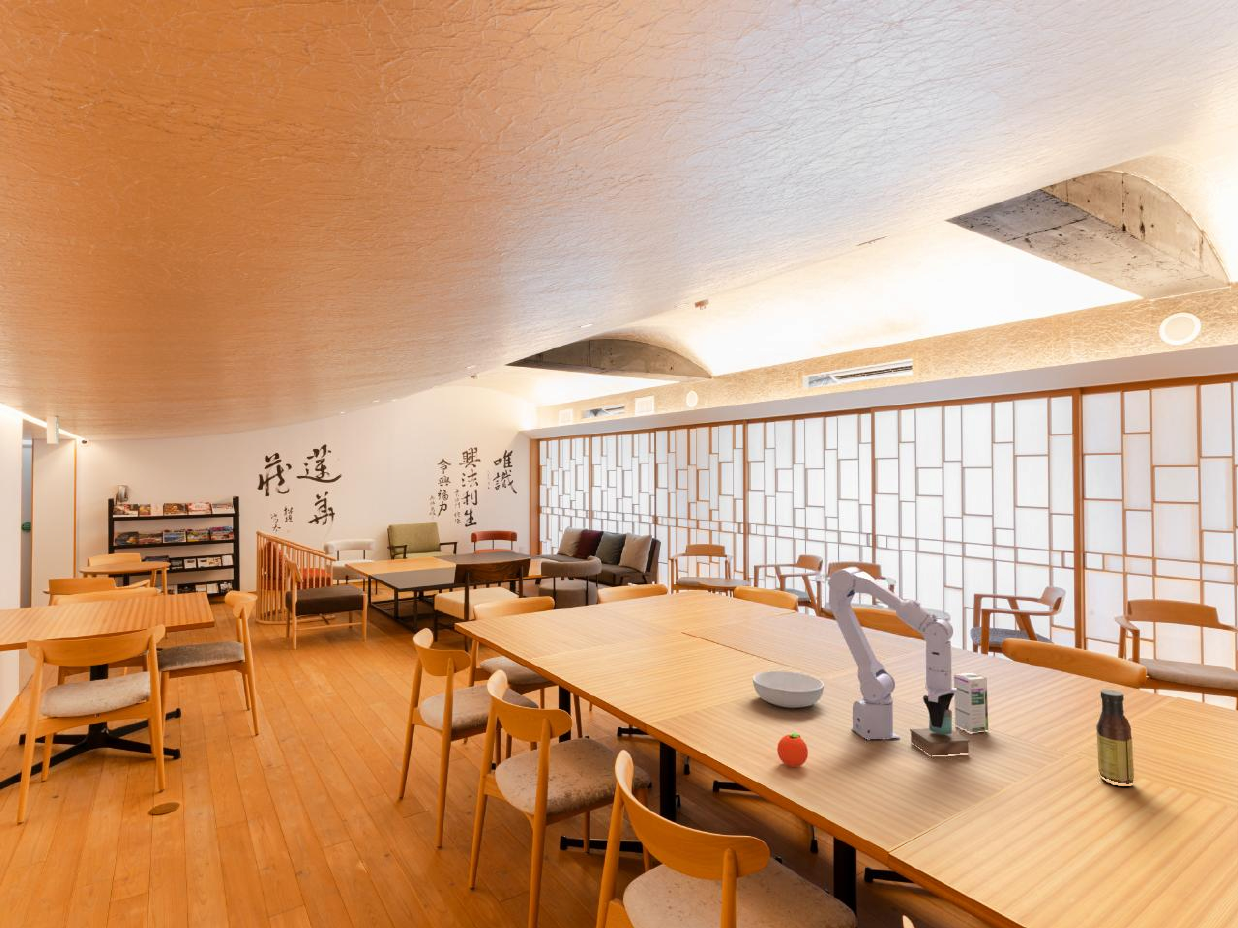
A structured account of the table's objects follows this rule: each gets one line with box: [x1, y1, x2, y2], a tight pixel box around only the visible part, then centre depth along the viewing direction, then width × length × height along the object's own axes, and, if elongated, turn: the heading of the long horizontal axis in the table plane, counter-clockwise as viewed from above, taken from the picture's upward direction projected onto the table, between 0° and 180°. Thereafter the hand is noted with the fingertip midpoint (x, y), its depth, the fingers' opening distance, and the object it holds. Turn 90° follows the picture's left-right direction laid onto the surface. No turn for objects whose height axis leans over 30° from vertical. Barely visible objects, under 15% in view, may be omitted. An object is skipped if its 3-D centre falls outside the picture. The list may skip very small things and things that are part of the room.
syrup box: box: [953, 672, 989, 732], centre depth 171 cm, size 6×6×14 cm
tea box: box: [909, 727, 971, 756], centre depth 157 cm, size 10×8×4 cm
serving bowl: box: [752, 670, 825, 709], centre depth 191 cm, size 21×21×7 cm
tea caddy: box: [928, 708, 953, 734], centre depth 157 cm, size 5×5×5 cm
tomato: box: [776, 733, 809, 768], centre depth 148 cm, size 8×7×7 cm
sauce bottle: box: [1096, 689, 1135, 784], centre depth 141 cm, size 7×6×20 cm
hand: (939, 723), depth 157 cm, fingers closed on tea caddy, 5 cm apart
